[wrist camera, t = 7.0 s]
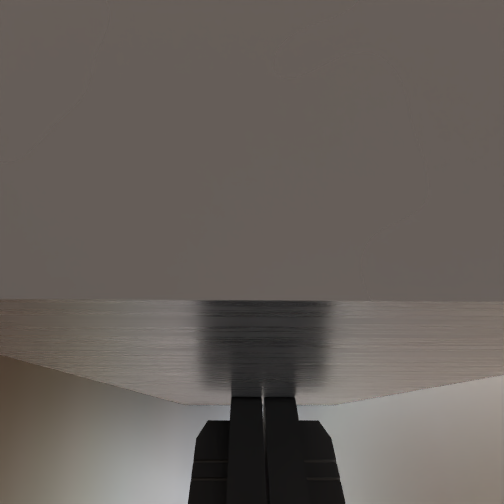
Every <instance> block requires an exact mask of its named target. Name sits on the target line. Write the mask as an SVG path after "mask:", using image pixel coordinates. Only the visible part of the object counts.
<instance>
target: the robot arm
mask: <svg viewBox="0 0 504 504" xmlns="http://www.w3.org/2000/svg"><path fill="white" fill-rule="evenodd" d="M188 504H345V499H344V495H343V490H342V485H341V482H340V476H339V472H338V467H337V464H336V458H335V453H334V448H333V444H332V439H331V437H330V436H329V435H328V433H327V432H326V430H325V429H324V428H323V426H322V425H321V424H320V422H319V421H299V420H298V413H297V406H296V400H295V397H264V407H263V412H262V397H231V410H230V421H211V420H208V421H207V423H206V424H205V426H204V427H203V429H202V430H201V432H200V434H199V435H198V437H197V438H196V445H195V453H194V463H193V468H192V476H191V484H190V492H189V499H188Z"/></svg>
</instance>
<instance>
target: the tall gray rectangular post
mask: <svg viewBox="0 0 504 504" xmlns="http://www.w3.org/2000/svg"><path fill="white" fill-rule="evenodd" d="M0 355H3V356H6V357H10V358H14V359H17V360H21V361H25V362H28V363H32V364H36V365H39V366H43V367H47V368H51V369H54V370H58V371H62V372H65V373H69V374H73V375H76V376H80V377H84V378H87V379H91V380H95V381H98V382H102V383H106V384H110V385H113V386H117V387H121V388H124V389H128V390H132V391H135V392H139V393H143V394H146V395H150V396H154V397H157V398H161V399H165V400H169V401H172V402H176V403H180V404H183V405H231V397H262V405H264V397H295V400H296V405H337V404H343V403H348V402H354V401H360V400H365V399H371V398H376V397H382V396H388V395H393V394H399V393H404V392H410V391H416V390H421V389H427V388H432V387H438V386H444V385H449V384H455V383H461V382H466V381H472V380H477V379H483V378H489V377H494V376H500V375H504V0H0Z"/></svg>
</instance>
